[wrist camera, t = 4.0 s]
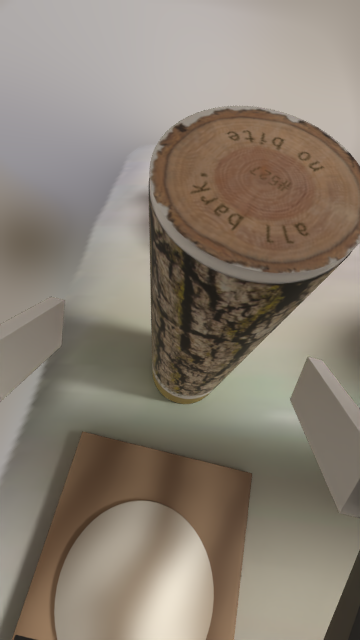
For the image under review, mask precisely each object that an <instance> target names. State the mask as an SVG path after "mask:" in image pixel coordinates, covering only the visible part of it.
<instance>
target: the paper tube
mask: <svg viewBox="0 0 360 640" xmlns="http://www.w3.org/2000/svg"><path fill="white" fill-rule="evenodd" d="M149 227H150V279H151V330H152V369H153V379H154V382H155V385H156V387H157V388H158V390H159V391H160V392H161V393H162V395H164V396H165V397H166V398H167V399H169V400H171V401H173V402H176V403H180V404H190V403H195V402H198V401H200V400H202V399H203V398H205V397H206V396H207V395H208V394H209V393H210V392H211V391H212V390H213V389H214V388H215V387H216V386H217V385H218V384H219V383H220V382H222V381H223V380H224V379H225V378H226V377H227V376H228V375H229V374H230V373H231V372H232V371H233V370H234V369H235V368H236V367H237V366H238V365H239V364H240V363H241V362H242V361H243V360H244V359H245V358H246V357H247V356H248V355H249V354H250V353H251V352H252V351H253V350H254V349H255V348H256V347H257V346H258V345H259V344H260V343H261V342H262V341H263V340H264V339H265V338H266V337H267V336H268V335H269V334H270V333H271V332H272V331H273V330H274V329H275V328H276V327H277V326H278V325H279V324H280V323H281V322H282V321H283V320H284V319H285V318H286V317H287V316H288V315H289V314H290V313H291V312H292V311H293V310H294V309H295V308H296V307H297V306H298V305H299V304H300V303H301V302H302V301H303V300H304V299H306V298H307V297H308V296H309V295H310V294H311V293H312V292H313V291H314V290H315V289H316V288H317V287H318V286H319V285H320V284H321V283H322V282H323V281H324V280H325V279H326V278H327V277H328V276H329V275H330V274H331V273H332V272H333V271H334V270H335V269H336V268H337V267H338V266H339V265H340V264H341V263H342V262H343V261H344V260H345V259H346V258H347V257H348V256H349V255H350V253H351V252H352V250H353V249H354V248H355V247H356V246H357V245H358V244H359V243H360V166H359V165H358V163H357V162H356V160H355V159H354V158H353V157H352V155H351V154H350V153H349V152H348V151H347V150H346V149H345V148H344V147H343V146H342V145H341V144H340V143H339V142H338V141H336V140H335V139H334V138H333V137H331V136H330V135H328V134H327V133H326V132H324V131H322V130H321V129H319V128H318V127H316V126H314V125H312V124H310V123H308V122H306V121H304V120H302V119H299V118H297V117H294V116H292V115H289V114H286V113H283V112H279V111H275V110H271V109H265V108H259V107H251V106H227V107H219V108H213V109H209V110H204V111H201V112H198V113H195V114H193V115H191V116H188V117H186V118H185V119H183V120H181V121H179V122H178V123H176V124H175V125H174V126H172V127H171V128H170V129H169V130H168V131H167V132H166V133H165V134H164V135H163V136H162V138H161V139H160V141H159V142H158V144H157V145H156V147H155V149H154V152H153V155H152V158H151V162H150V178H149Z"/></svg>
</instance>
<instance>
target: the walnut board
mask: <svg viewBox="0 0 360 640" xmlns="http://www.w3.org/2000/svg"><path fill="white" fill-rule="evenodd" d="M251 480H252V473H248V472H244V471H240V470H236V469H232V468H228V467H224V466H220V465H216V464H212V463H208V462H204V461H200V460H196V459H191V458H187V457H183V456H179V455H175V454H171V453H167V452H163V451H159V450H155V449H151V448H147V447H143V446H139V445H135V444H131V443H127V442H123V441H119V440H115V439H111V438H107V437H103V436H99V435H95V434H91V433H87V432H82V435H81V438H80V441H79V443H78V446H77V449H76V452H75V455H74V458H73V461H72V464H71V467H70V470H69V473H68V476H67V479H66V482H65V485H64V488H63V491H62V493H61V496H60V499H59V502H58V505H57V508H56V511H55V514H54V517H53V520H52V523H51V526H50V529H49V532H48V535H47V538H46V541H45V544H44V546H43V549H42V552H41V555H40V558H39V561H38V564H37V567H36V570H35V573H34V576H33V579H32V582H31V585H30V588H29V591H28V594H27V597H26V599H25V602H24V605H23V608H22V611H21V614H20V617H19V620H18V623H17V626H16V629H15V632H14V635H13V638H12V640H14V637H15V635H20V636H24V637H28V638H32V639H36V640H234V633H235V624H236V615H237V606H238V597H239V588H240V579H241V570H242V561H243V552H244V543H245V534H246V525H247V516H248V507H249V498H250V489H251Z"/></svg>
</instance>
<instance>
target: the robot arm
mask: <svg viewBox="0 0 360 640" xmlns="http://www.w3.org/2000/svg"><path fill="white" fill-rule="evenodd" d="M64 306H65V300H63V299H58V298H54V297H49V298H48V299H46V300H44V301H42V302H40V303H38V304H37V305H35V306H33V307H31V308H29V309H27V310H26V311H24V312H22V313H20V314H18V315H16V316H14V317H13V318H11V319H9V320H7V321H5V322H3V323H1V324H0V402H1V401H2V400H3V399H4V398H5V397H6V396H7V395H8V394H9V393H11V392H12V391H13V390H14V389H15V388H16V387H17V386H18V385H19V384H20V383H21V382H23V381H24V380H25V379H26V378H27V377H28V376H29V375H30V374H31V373H32V372H33V371H35V370H36V369H37V368H38V367H39V366H40V365H41V364H42V363H43V362H44V361H46V360H47V359H48V358H49V357H50V356H51V355H52V354H53V353H54V352H55V351H56V350H58V349H59V348H60V347H61V346H62V332H63V319H64ZM290 401H291V403H292V405H293V408H294V410H295V412H296V415H297V417H298V419H299V421H300V424H301V426H302V428H303V431H304V433H305V435H306V438H307V440H308V442H309V444H310V447H311V449H312V451H313V454H314V456H315V458H316V461H317V463H318V465H319V467H320V470H321V472H322V474H323V477H324V479H325V481H326V484H327V486H328V488H329V490H330V493H331V495H332V497H333V500H334V502H335V504H336V507H337V509H338V511H339V513H341V514H345V515H349V516H353V517H358V518H360V409H359V407H358V406H357V405H356V403H355V402H354V401H353V399H352V398H351V397H350V396H349V394H348V393H347V392H346V390H345V389H344V388H343V386H342V385H341V384H340V382H339V381H338V380H337V379H336V377H335V376H334V375H333V373H332V372H331V371H330V369H329V368H328V367H327V366H326V364H325V363H324V362H323V360H320V359H316V358H312V357H308V358H307V360H306V362H305V365H304V367H303V370H302V372H301V374H300V377H299V379H298V382H297V384H296V386H295V389H294V391H293V394H292V396H291V398H290ZM14 640H36V639H32V638H28V637H24V636H20V635H15V637H14ZM324 640H360V551H359V553H358V555H357V558H356V560H355V563H354V565H353V568H352V570H351V573H350V575H349V578H348V580H347V583H346V585H345V588H344V590H343V593H342V595H341V598H340V600H339V603H338V605H337V608H336V610H335V612H334V615H333V617H332V620H331V622H330V625H329V627H328V630H327V632H326V635H325V637H324Z"/></svg>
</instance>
